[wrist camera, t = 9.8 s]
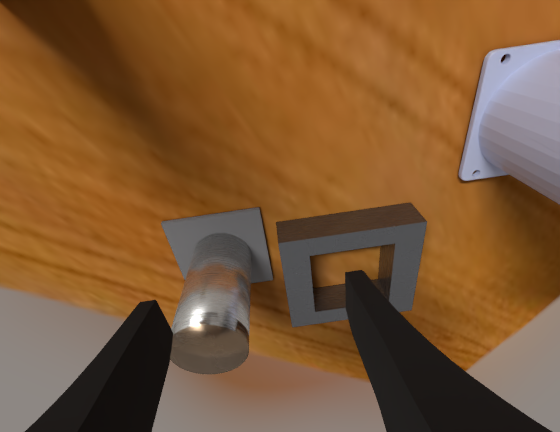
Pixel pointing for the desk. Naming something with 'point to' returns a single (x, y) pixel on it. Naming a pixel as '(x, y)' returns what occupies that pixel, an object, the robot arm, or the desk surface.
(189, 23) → the desk surface
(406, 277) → the housing
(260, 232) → the mat
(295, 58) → the desk surface
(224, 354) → the metal cylinder
